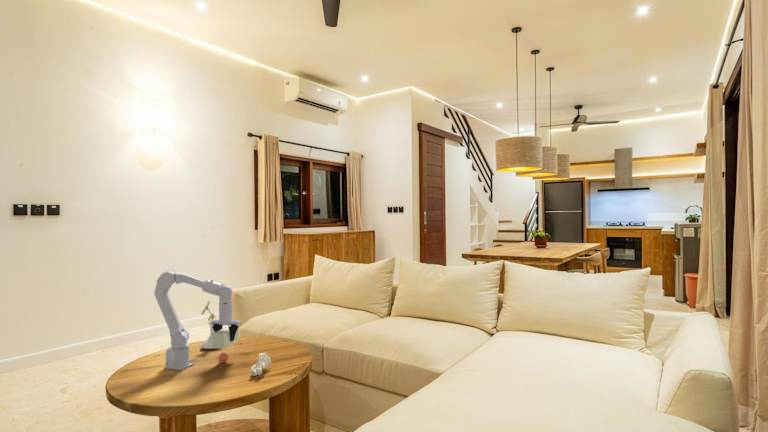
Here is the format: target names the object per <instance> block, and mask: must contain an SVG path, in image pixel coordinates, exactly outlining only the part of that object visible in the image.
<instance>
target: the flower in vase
mask: <svg viewBox="0 0 768 432" xmlns="http://www.w3.org/2000/svg"><path fill="white" fill-rule="evenodd" d="M210 304H211V300H208V301H207V302H206V305H205V306H204V309H202V311H201V313H200V315H201V316H203V315H204V314H205V312H206V311H207V310H208V312H209V314H210V315H209V317H208V320H207V324H208V325H209V328H210V334H209V336H208V337H206V339H205V340H204V341H202V343H201V345H200V347H201V348H202V349H204V350H213V349H216V348H212V334H213V333H215V331H214V330H213V328H212V326H214V324H213V325H211V320H215V318H216V315H215V313H214V312H213V313H212V312H211V311H210V309H209V305H210Z"/></svg>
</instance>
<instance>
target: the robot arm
mask: <svg viewBox="0 0 768 432" xmlns="http://www.w3.org/2000/svg"><path fill="white" fill-rule="evenodd" d="M214 280H215V279H212V278H210V279H206V280H202V279H200V278H197V277H194V276H192V275H190V274H187V273H185V272H181V271H178V270H177V271H176V270H174V269H169V270H166V271H164V272H162V274H159V277H158V278H157V280H156V285H155V289H154V297H155V299H156V301H157V304H158V306H159V308H160V310H161V311H160V312H161V313H162V315H163V318H164V320H165V322H166V325H167V327H168V330H169V336H170V339H171V340H170V345H171V346H169V347H167V349H166V351H165V366H164V369H166V370H167V369H169V370H177V371H182V370H185V369H186V368H188V367H190V366H192V365H194V362H190V344H189V343H188V340H189V338H190V333H189V332H188V331H187V330H186V329H185V328H184V325H182V323H181V322H180V319H179V317H178V314H177V312H176V309H175V307H174V305H173V302H172V299H171V297H170V295H169V292H170V289H171V287H172V285H174V284H175V285H177V284H183V283H185V284H189V285H191V286H193V287H199V288H200V289H201V290H202V292H204V293H207V294H209V295H212V296H217V297H219V302H218V319H213V320H212V319H210V320H211V325H213V324H214V326H212V328H213V330H214V331H215V332H217V331H219V330H221V329H223V328H224V326H228V328H229V332H230V341H233V340H234V338H235V334H236V331H237V329H238V330H239V327H240V326H241V325H242V324H241V322H242V320H236V319H233V301H232V295H233V289H232V287H231V286H230V285H228V284H224V283H219V282H216V281H214Z"/></svg>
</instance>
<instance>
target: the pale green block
mask: <svg viewBox="0 0 768 432" xmlns="http://www.w3.org/2000/svg"><path fill="white" fill-rule="evenodd" d="M228 327H229V325H226V326H225V327H222V329H221V330H219V331H217V332H215V333H213V334H212V348H215V349H219V350H221V349H223V350H225V349H226V348H229V347H230V346H231V345H234V344H235V343H237V342H239V328H238V329H237V331H236V334H235V338H234V340H233V341H230V332H229V328H228Z"/></svg>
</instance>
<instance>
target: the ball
mask: <svg viewBox="0 0 768 432" xmlns="http://www.w3.org/2000/svg"><path fill="white" fill-rule="evenodd" d="M217 359H218V362H219V363H221V364H225V363H227V362H228V360H229V355H228V354H227V353H226V352H223V353H221V354H219V356H218V358H217Z"/></svg>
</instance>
